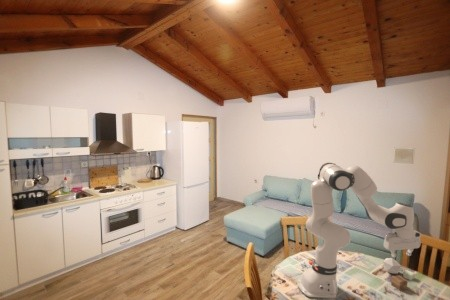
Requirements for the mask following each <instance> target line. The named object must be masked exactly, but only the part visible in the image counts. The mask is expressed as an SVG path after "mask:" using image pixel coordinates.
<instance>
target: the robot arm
mask: <svg viewBox="0 0 450 300" xmlns="http://www.w3.org/2000/svg"><path fill="white" fill-rule="evenodd" d="M317 179H318V180H317ZM317 179H316V180H314V181H313V182H311V184H310V199H311V200H310V201H311V205H312V206H311V207H312V214H311V216H309V217H308V218H307V219H306V221H305V228H306V230H307V231H308V232H309V233H311V234H312V235H314V236H315V237H317V238H319V239H322V240H323V243H321V244H319V245H317V246H316V248H315V253H314V254H315V255H314V257H315V258H314V261H312V260H309V261H308V264H309V265H310V266H311V267H309V268H307V270H305V271H304V272H302V274H301V277H300V278H297V279H296V284H297V287H298V288H299V290H300V291H301V293H302V294H304V295H305V296H306V297H308V298H320V299H321V298H324V299H325V298H326V299H336V298H337V294H338V292H339V287H338V283H337V281H338V280H337V272H338V265H337V258H338V256H337V255H338V252H339V251H340V250H341V249H342V248H345V247H347V246H348V245H349V244H350V242H351V239H352V238H351V233H350V230H348V229H347V228H345V227H343V226H342V225H340V224H338V223H335V222H333V221H331V220H329V219H328V218H330V217H333V215H334V213H335V205H334V198H333V190H335V191H338V192H343V191H346V190H348V189H349V188H350V189H351V191H352V192H354V194H355V195H356V197H357V199H358V200H359V202H360V203H361V204H362V206H363V208H364V210H365V214H366V216H367V217H368V219H369V220H371V221H373V222H376V223H378V224H380V225H381V226H383V227H385V228H388V229H391V230H392V232H389V233H387V234H386V235H385V237H384V240H383V248H384V249H386V250H387V251H390V253H391V255H390V256H391V258H396V257H397V256H398V255H397V253H396V251H400V250H407V251H405V254H406V255H405V256H408V257H410V256H412V253H413V251H414V249H419V248H420V247H421V243H422V242H421V239H422V238H421V237H422V233H421V232H419V231H418V230H415V229H414V225H413V224H414V221H415V211H414V207H412V205H410V204H406V203H403V202H396V203H395V204H394V205H393V206H392V207H390V208H388V207H385V206H382V205H380V204H378V203H376V202H375V201H374V199H373V197H374V196H375V195H376V194H377V192H378V191H377V190H378V188H377V187H378V186H377V184H376V182H374V180H373V178H371V176H370V175H369V174H368V172H366V171H365V170H364V169H363V168H361V166H357V165H350V166H348V167H346V168H345V169H344V168H342V167H340V166H339V165H337V164H336V163H333V162H325V163H323V164H322V165H321V166H320V168H319V170H318V174H317Z"/></svg>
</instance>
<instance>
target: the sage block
mask: <svg viewBox="0 0 450 300" xmlns="http://www.w3.org/2000/svg"><path fill="white" fill-rule="evenodd" d="M402 273H403V275H402V277H403V278H404V279H406V280H409V281H412V280H414V279H415V272H413V271H411V270H408V269H405V270H404V271H403V272H402Z"/></svg>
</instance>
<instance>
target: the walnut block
mask: <svg viewBox="0 0 450 300" xmlns="http://www.w3.org/2000/svg"><path fill="white" fill-rule="evenodd" d="M390 281H391V284H390V285H391V286H392V287H393V288H394V289H397V291H398V292H401V291H405V290H408V279H407V278H404V277H403V276H402V275H398V274H396V275H392V276H391V280H390Z"/></svg>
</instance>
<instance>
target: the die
mask: <svg viewBox="0 0 450 300" xmlns="http://www.w3.org/2000/svg"><path fill="white" fill-rule="evenodd" d="M382 267H383V268H384V270H385V271H386V272H388V273H390V274H396V275H398V274H399V272H400V269H401V267H402V265H401V264H400V263H399V262H398V261H397V260H396V259H394V257H387V258H385V259H384V260H383V263H382Z"/></svg>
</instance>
